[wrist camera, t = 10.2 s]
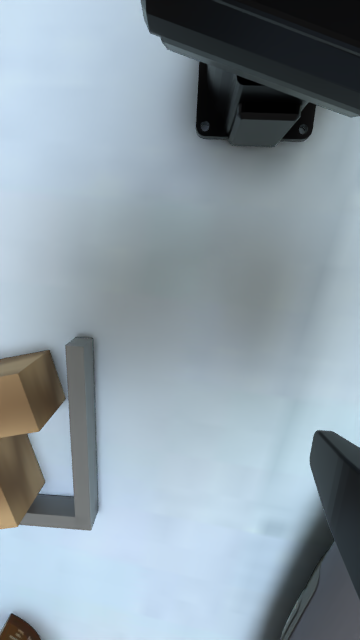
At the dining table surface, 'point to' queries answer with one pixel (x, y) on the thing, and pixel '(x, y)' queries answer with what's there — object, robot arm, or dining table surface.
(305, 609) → the bluetooth speaker
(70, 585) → the dining table surface
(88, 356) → the fence pocket
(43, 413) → the t block
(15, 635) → the food container
